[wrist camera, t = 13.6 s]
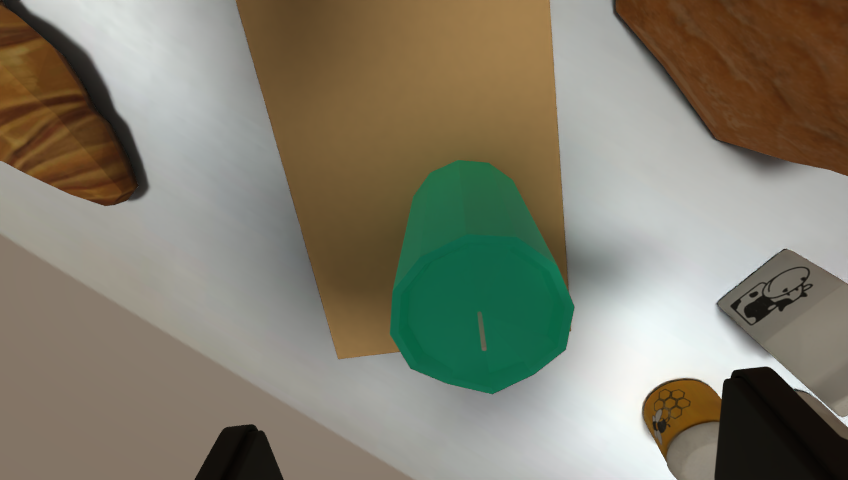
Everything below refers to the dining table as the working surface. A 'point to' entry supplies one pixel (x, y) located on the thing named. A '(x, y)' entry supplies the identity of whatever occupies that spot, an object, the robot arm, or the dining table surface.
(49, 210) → the dining table surface
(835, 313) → the toy food
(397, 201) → the place mat
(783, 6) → the bread
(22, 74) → the croissant
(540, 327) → the candle
